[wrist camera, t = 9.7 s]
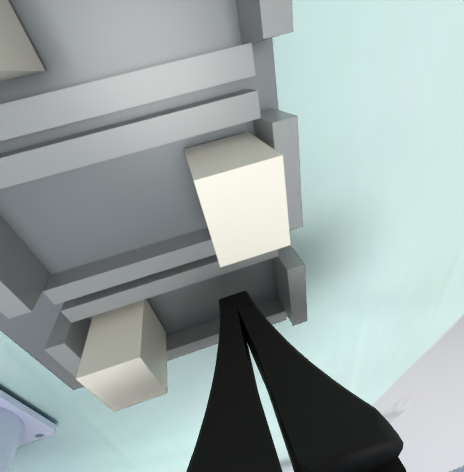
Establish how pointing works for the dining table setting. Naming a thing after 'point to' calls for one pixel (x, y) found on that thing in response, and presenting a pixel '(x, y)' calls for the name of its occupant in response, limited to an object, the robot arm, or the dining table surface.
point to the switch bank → (135, 169)
